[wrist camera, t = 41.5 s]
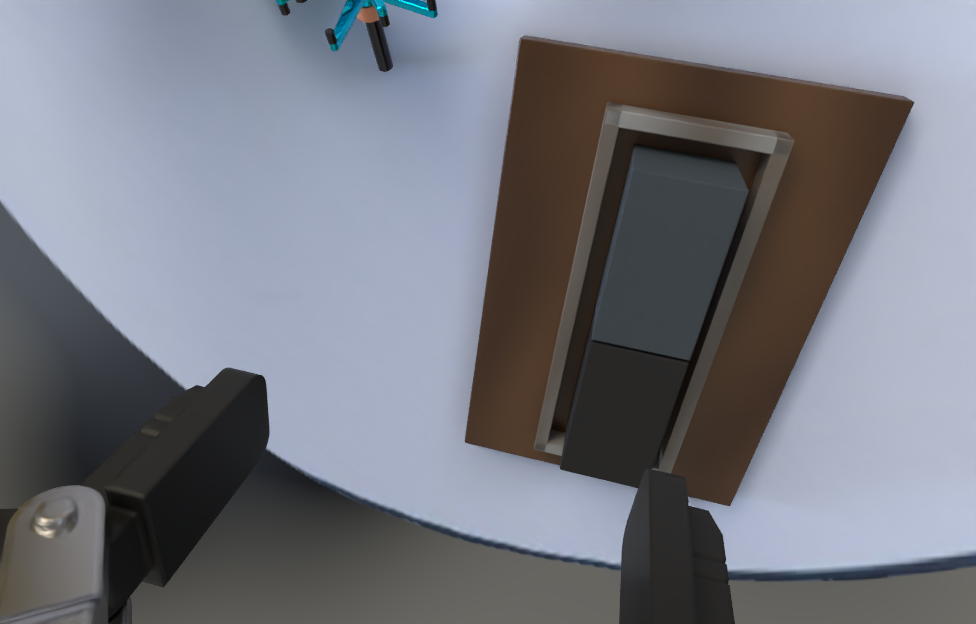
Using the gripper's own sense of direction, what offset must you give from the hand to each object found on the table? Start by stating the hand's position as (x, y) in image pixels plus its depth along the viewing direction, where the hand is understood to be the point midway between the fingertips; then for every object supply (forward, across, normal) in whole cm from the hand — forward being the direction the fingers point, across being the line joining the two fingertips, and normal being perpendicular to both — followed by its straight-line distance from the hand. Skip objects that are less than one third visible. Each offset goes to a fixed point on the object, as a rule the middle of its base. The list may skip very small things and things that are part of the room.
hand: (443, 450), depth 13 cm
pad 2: (+23, -6, +13) cm, 27 cm away
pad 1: (+23, -6, +3) cm, 24 cm away
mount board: (+24, -6, +8) cm, 26 cm away
